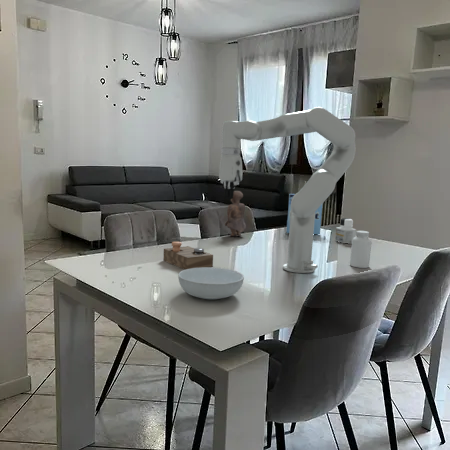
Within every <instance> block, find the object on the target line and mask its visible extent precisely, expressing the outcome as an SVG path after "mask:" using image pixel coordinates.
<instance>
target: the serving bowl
mask: <svg viewBox="0 0 450 450" xmlns="http://www.w3.org/2000/svg"><path fill="white" fill-rule="evenodd" d="M177 275H178V276H177V277H178V282H179V285H180V288H181V289H183V291H184V292H185V293H187V294H188V295H190V296H193V297H196V298H198V299H199V298H200V299H202V300H219V299H225V298H228V297H232V296H234V295H235V294H237V293H238V292H239V291H240V289H241V288H242V286H243V283H244V279H245V276H244V274H243V273H241V272H239V271H237V270H233V269H229V268H225V267H201V268H191V269H186V270H185V269H182V270H181V271H180V272H179V273H178V274H177Z"/></svg>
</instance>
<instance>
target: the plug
mask: <svg viewBox="0 0 450 450" xmlns="http://www.w3.org/2000/svg"><path fill="white" fill-rule="evenodd" d="M193 248H194V252H195V254H197V255H199V254H203V253H204V252H205V249H204V248H201V247H196V248H195V247H193Z"/></svg>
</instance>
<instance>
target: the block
mask: <svg viewBox="0 0 450 450" xmlns="http://www.w3.org/2000/svg"><path fill="white" fill-rule="evenodd" d="M194 248H195V247H192V246H189V245H187V246H180V251H179V252H173V247H167V248H163V258H162V259H163V262H166V263H168V264H169V265H170V264H171V265H174V266H175V267H178V268H180V269H182V270H186V269H191V268H201V267H213V266H214V254H212V253H209V252H206V251H204V253H203V254H199V255H197V254H195V252H194Z"/></svg>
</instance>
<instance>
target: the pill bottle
mask: <svg viewBox="0 0 450 450" xmlns="http://www.w3.org/2000/svg"><path fill="white" fill-rule="evenodd" d="M369 235H370V232H369V231H366V230H356V237H354V238H353V240H352V243H351V250H350V258H349V259H350V260H349V265H350V267H351V266H352V267H353V268H358V269H367V268H369V267H370V263H371V262H370V261H371V253H372V252H371V250H372V243H373V242H372V240H371V238H369V237H370V236H369Z"/></svg>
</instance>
